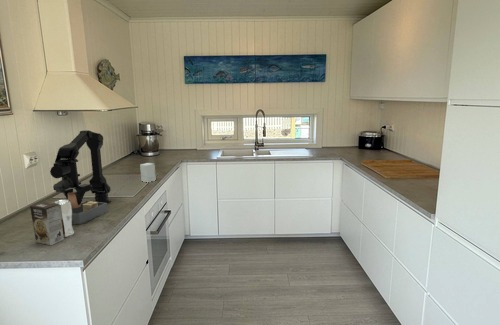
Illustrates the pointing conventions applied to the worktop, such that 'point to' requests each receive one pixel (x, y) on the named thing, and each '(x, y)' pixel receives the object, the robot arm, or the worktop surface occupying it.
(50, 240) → the coffee box
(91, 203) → the beech cube
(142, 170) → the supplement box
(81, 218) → the tote
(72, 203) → the terracotta cylinder
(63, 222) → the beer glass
